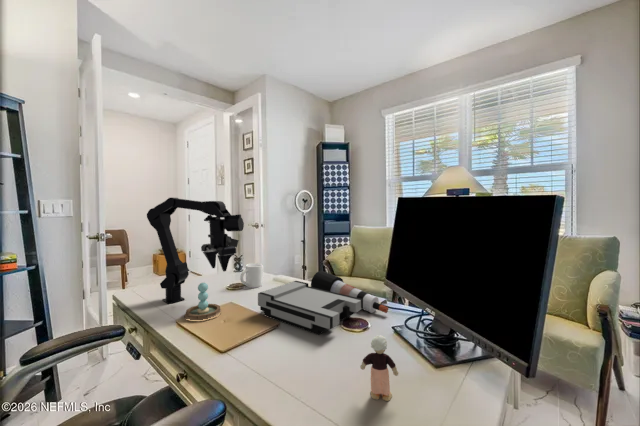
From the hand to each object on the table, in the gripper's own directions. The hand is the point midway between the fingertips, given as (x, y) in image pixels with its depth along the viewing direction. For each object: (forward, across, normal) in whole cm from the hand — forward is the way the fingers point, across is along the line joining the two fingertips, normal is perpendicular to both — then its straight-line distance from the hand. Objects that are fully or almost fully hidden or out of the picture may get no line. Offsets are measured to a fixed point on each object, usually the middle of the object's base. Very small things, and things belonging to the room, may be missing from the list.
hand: (219, 269), depth 112 cm
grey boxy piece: (+15, -36, -15) cm, 42 cm away
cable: (+16, -40, -34) cm, 55 cm away
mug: (+14, +9, -21) cm, 27 cm away
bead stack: (+12, -8, +11) cm, 18 cm away
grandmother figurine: (+16, -76, +4) cm, 78 cm away
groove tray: (+13, -8, +11) cm, 19 cm away
